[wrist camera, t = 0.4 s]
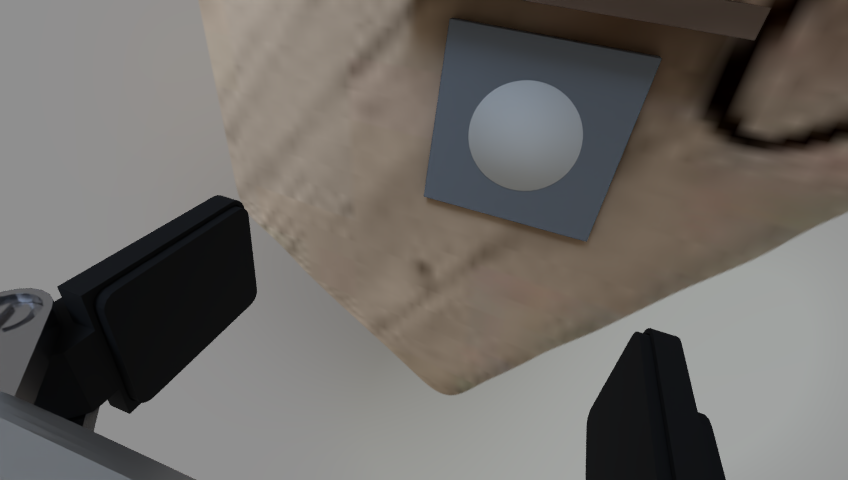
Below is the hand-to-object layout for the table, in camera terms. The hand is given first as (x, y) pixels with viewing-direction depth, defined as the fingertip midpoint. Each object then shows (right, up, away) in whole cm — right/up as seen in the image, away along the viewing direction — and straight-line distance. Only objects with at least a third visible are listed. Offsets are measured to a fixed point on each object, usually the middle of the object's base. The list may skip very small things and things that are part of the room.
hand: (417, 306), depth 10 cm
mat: (+8, +10, +25) cm, 29 cm away
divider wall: (+10, +19, +19) cm, 29 cm away
